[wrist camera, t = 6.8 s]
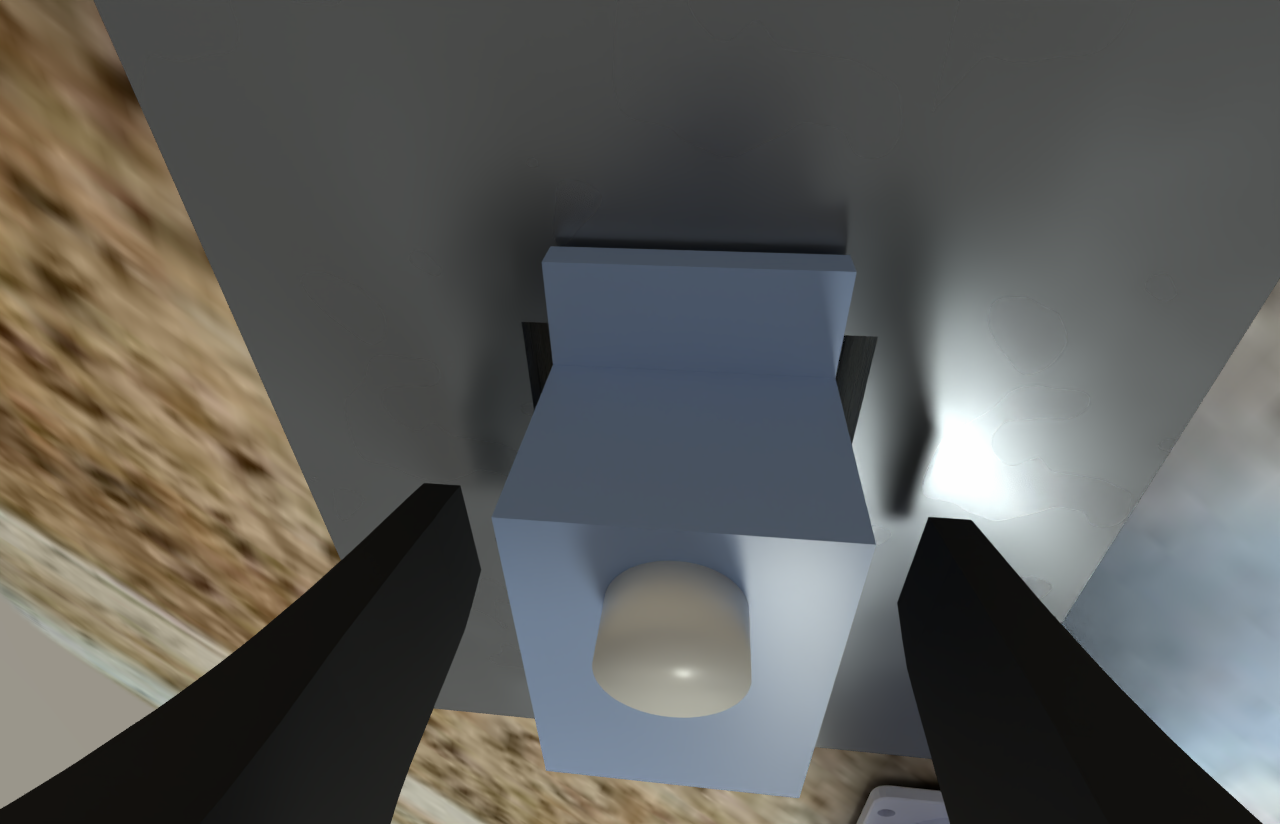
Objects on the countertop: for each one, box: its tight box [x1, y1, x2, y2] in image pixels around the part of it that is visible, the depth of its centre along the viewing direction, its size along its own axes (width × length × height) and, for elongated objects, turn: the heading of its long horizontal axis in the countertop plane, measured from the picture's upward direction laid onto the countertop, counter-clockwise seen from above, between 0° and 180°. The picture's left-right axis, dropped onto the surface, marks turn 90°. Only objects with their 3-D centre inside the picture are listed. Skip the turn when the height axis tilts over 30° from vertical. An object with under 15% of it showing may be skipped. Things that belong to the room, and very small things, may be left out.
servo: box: [491, 246, 876, 798], centre depth 10 cm, size 9×4×6 cm, turn 1°
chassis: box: [94, 0, 1280, 759], centre depth 12 cm, size 16×14×2 cm
